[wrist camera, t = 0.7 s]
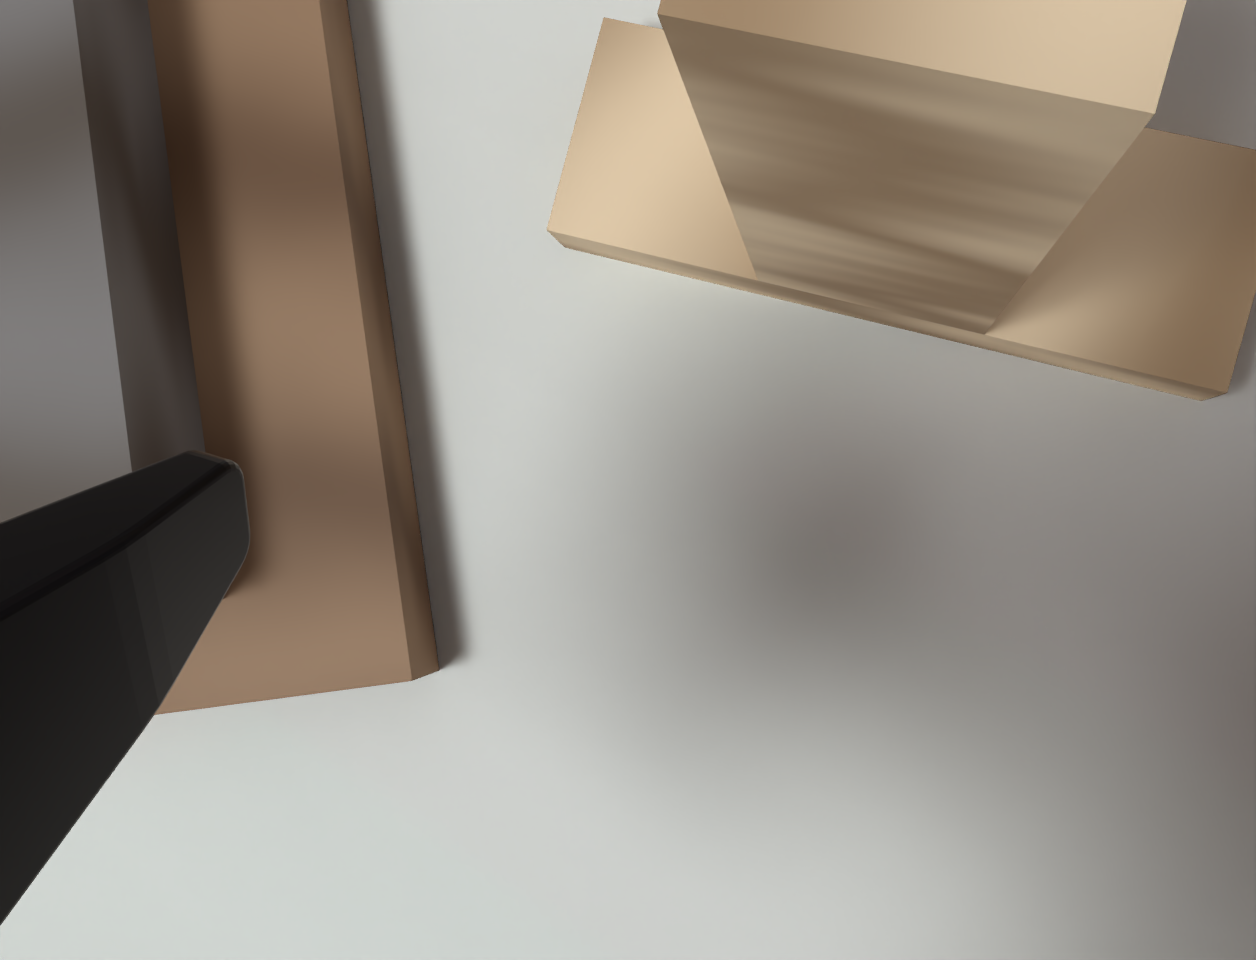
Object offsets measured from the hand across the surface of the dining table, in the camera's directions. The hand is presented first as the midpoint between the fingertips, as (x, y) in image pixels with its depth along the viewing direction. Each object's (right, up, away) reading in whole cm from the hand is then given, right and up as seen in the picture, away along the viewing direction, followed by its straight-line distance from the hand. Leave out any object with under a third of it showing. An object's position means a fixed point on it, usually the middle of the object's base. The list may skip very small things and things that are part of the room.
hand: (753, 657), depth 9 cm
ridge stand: (-11, +7, +16) cm, 20 cm away
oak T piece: (+4, +6, +13) cm, 15 cm away
